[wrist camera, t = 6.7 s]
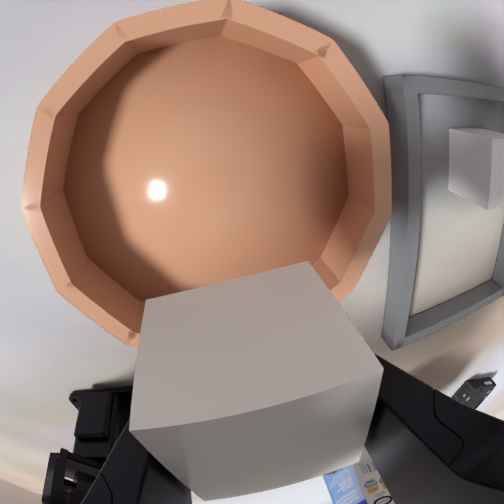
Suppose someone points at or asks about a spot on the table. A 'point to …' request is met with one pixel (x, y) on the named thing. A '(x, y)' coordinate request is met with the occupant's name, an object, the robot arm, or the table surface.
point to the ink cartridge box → (358, 484)
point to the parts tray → (409, 212)
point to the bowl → (204, 160)
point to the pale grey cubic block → (477, 165)
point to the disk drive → (474, 391)
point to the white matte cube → (252, 383)
